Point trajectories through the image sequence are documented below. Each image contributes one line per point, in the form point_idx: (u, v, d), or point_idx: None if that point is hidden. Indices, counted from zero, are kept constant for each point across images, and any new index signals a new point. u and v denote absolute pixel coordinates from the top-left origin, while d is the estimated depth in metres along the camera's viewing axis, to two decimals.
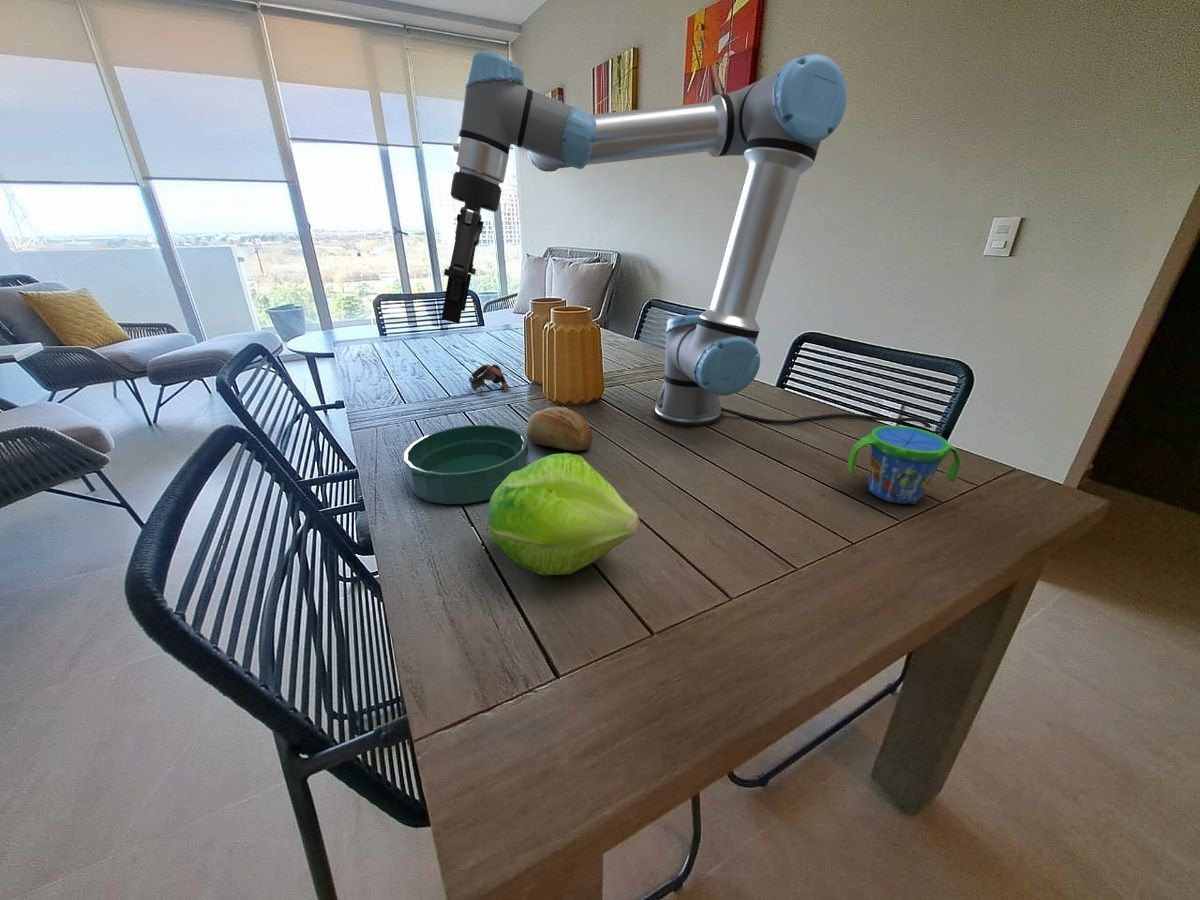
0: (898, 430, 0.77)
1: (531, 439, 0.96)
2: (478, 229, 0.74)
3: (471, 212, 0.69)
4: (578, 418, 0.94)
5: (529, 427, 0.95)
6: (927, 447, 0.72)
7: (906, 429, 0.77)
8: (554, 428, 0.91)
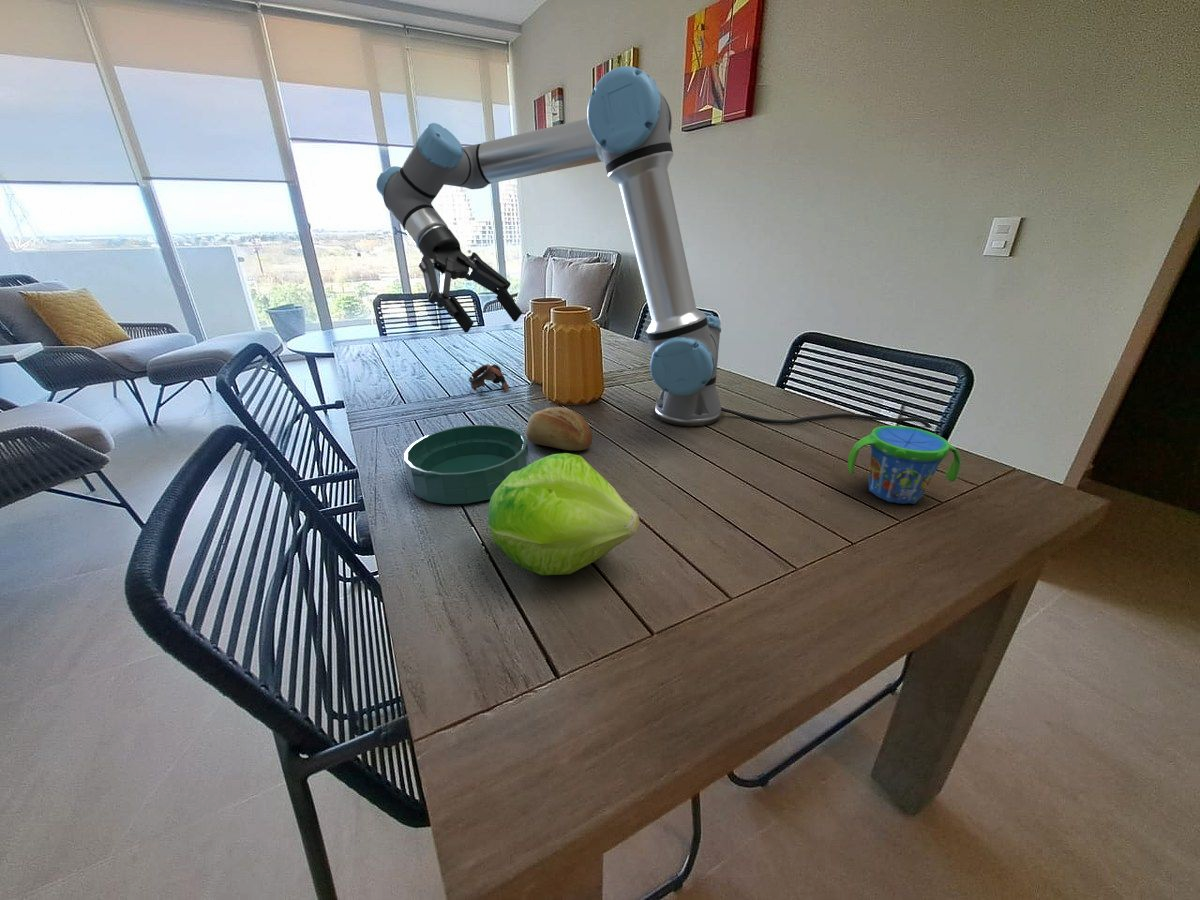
0: (898, 430, 0.77)
1: (531, 439, 0.96)
2: (446, 262, 0.93)
3: (421, 260, 0.91)
4: (578, 418, 0.94)
5: (529, 427, 0.95)
6: (927, 447, 0.72)
7: (906, 429, 0.77)
8: (554, 428, 0.91)
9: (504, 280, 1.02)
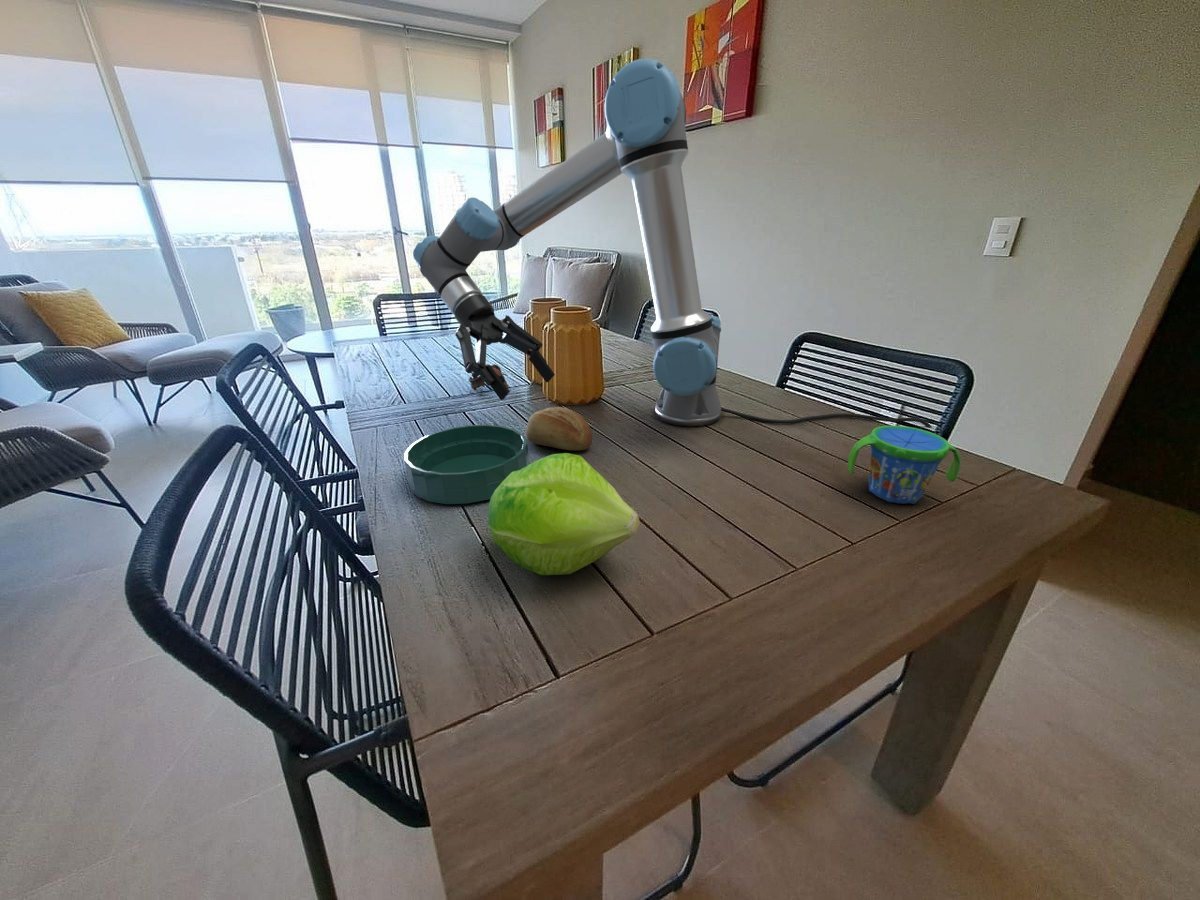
0: (898, 430, 0.77)
1: (531, 439, 0.96)
2: (482, 329, 0.95)
3: (458, 329, 0.93)
4: (578, 418, 0.94)
5: (529, 427, 0.95)
6: (927, 447, 0.72)
7: (906, 429, 0.77)
8: (554, 428, 0.91)
9: (536, 341, 1.03)
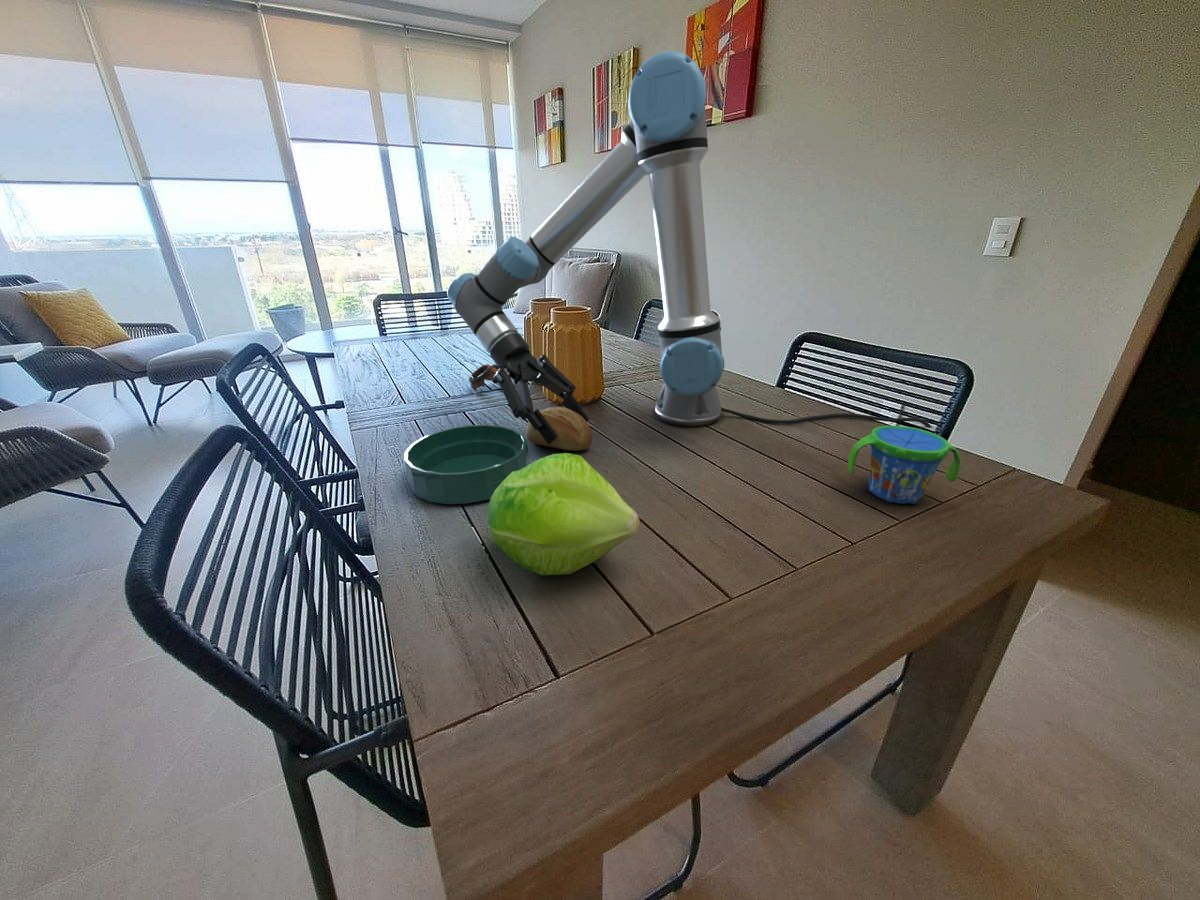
0: (898, 430, 0.77)
1: (531, 439, 0.96)
2: (520, 370, 0.93)
3: (497, 373, 0.91)
4: (578, 418, 0.94)
5: (529, 427, 0.95)
6: (927, 447, 0.72)
7: (906, 429, 0.77)
8: (554, 428, 0.91)
9: (570, 384, 1.00)
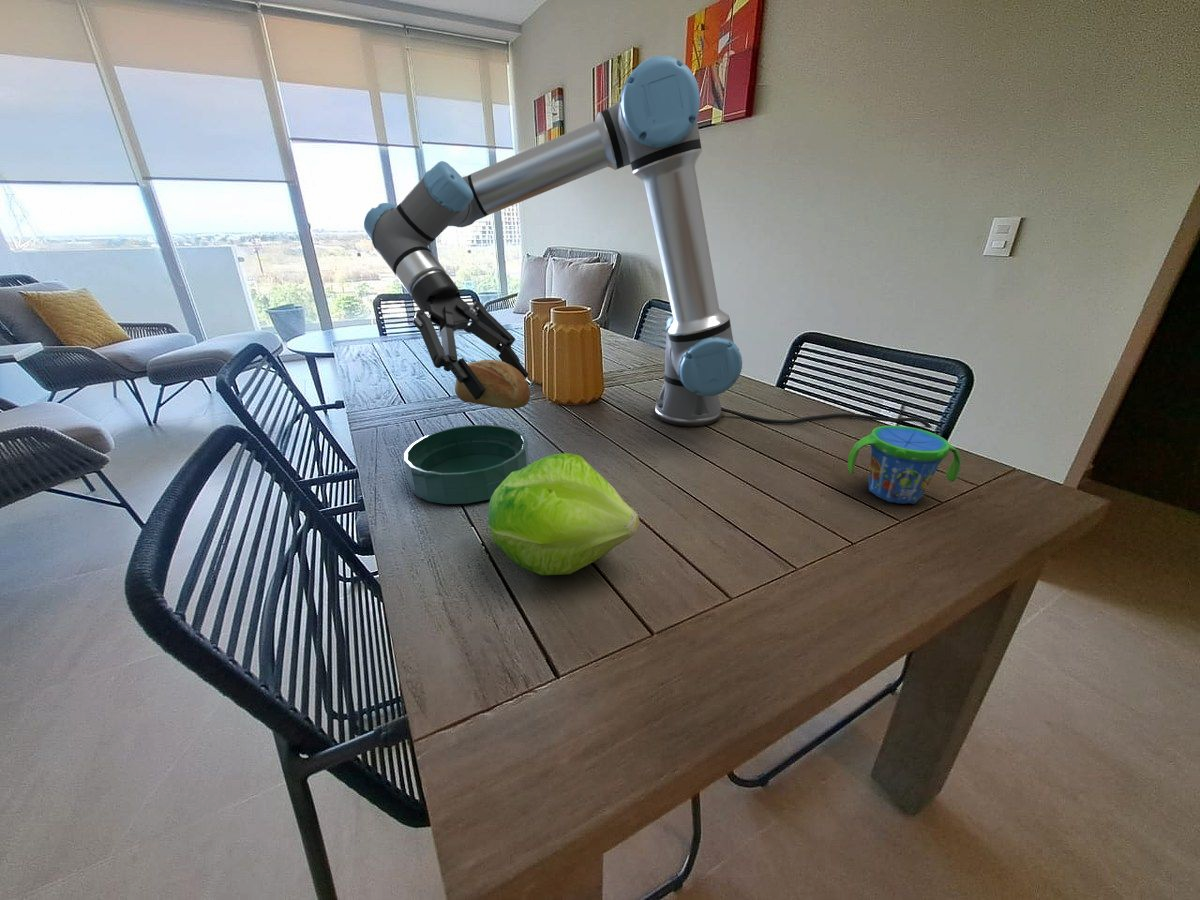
0: (898, 430, 0.77)
1: (460, 396, 0.83)
2: (445, 314, 0.80)
3: (416, 316, 0.78)
4: (512, 371, 0.81)
5: (457, 382, 0.82)
6: (927, 447, 0.72)
7: (906, 429, 0.77)
8: (482, 380, 0.78)
9: (508, 335, 0.87)
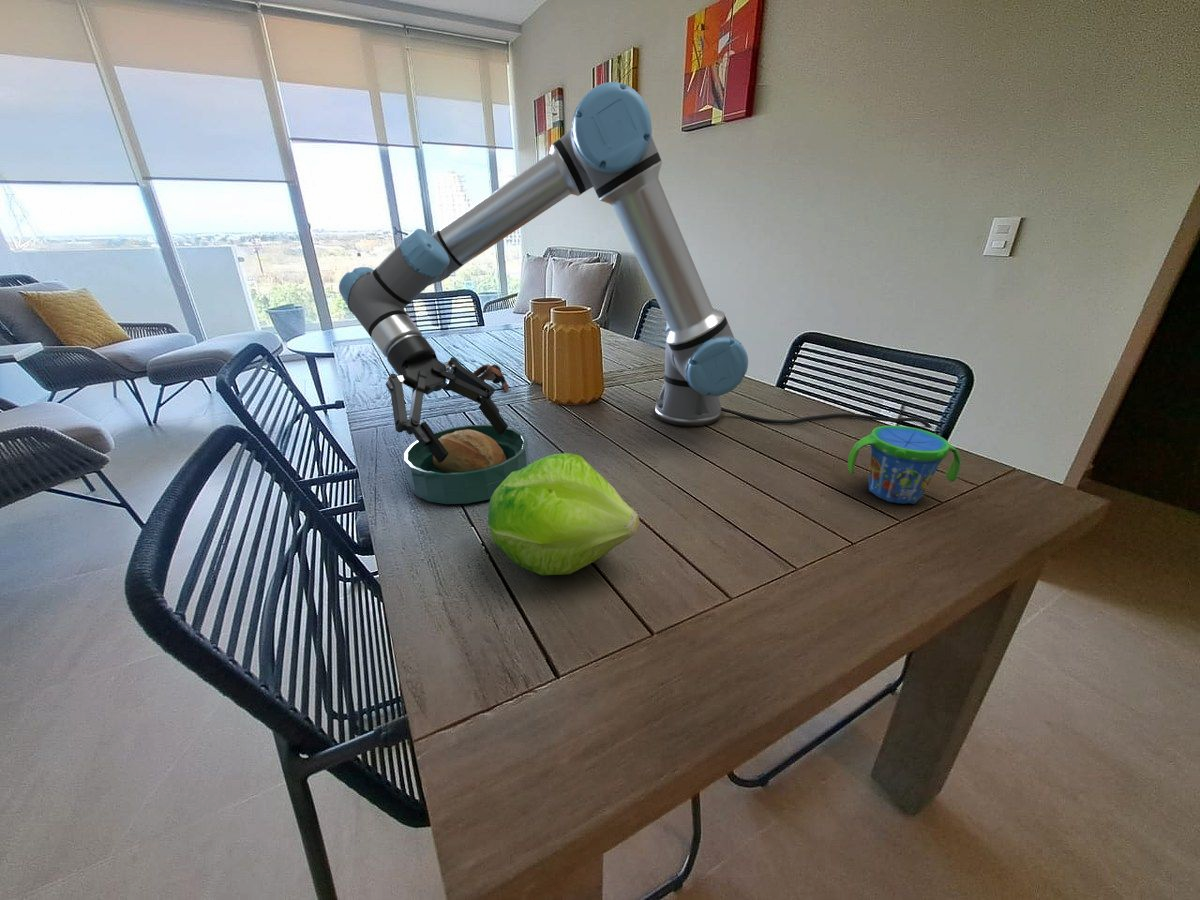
0: (898, 430, 0.77)
1: (437, 467, 0.84)
2: (418, 378, 0.80)
3: (388, 379, 0.78)
4: (488, 443, 0.82)
5: None
6: (927, 447, 0.72)
7: (906, 429, 0.77)
8: (458, 455, 0.80)
9: (487, 387, 0.89)
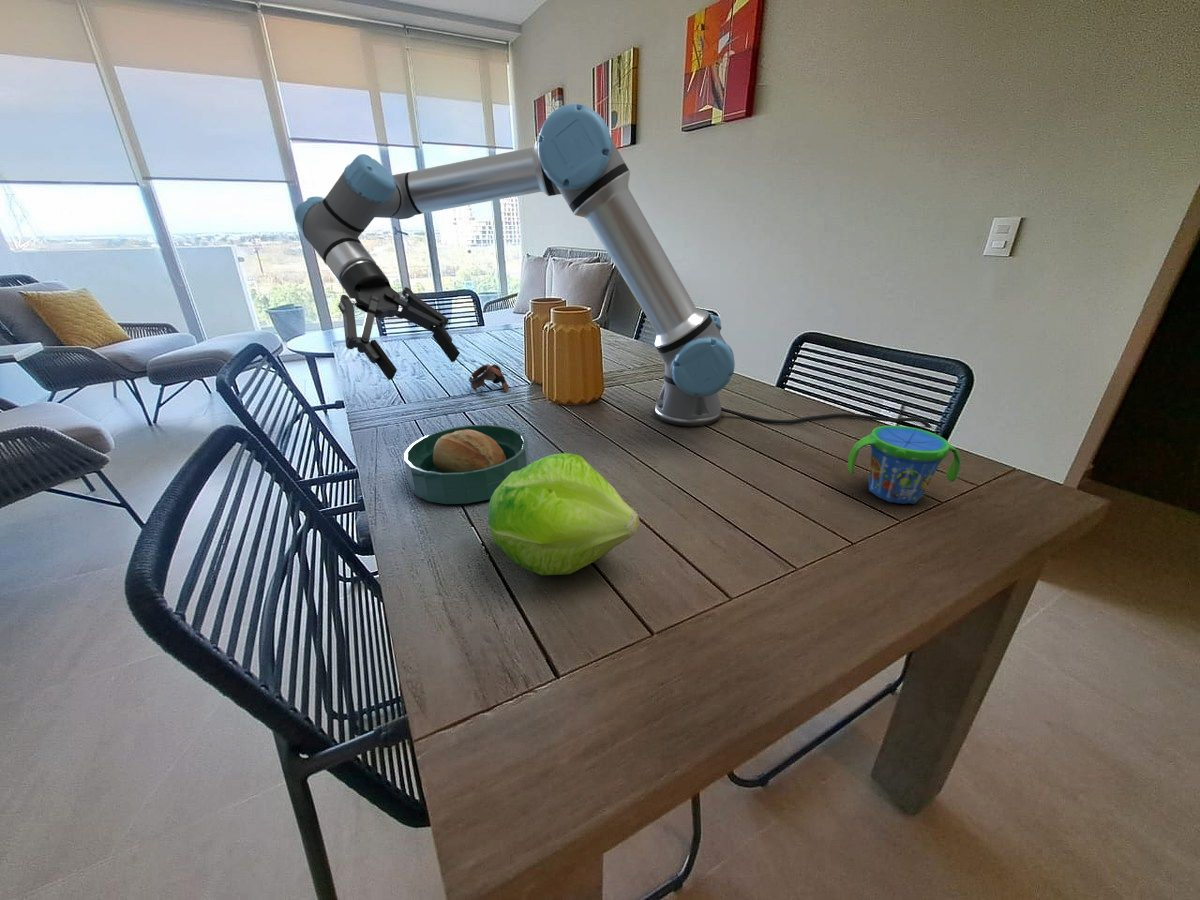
0: (898, 430, 0.77)
1: (437, 467, 0.84)
2: (370, 301, 0.84)
3: (340, 300, 0.82)
4: (488, 443, 0.82)
5: (434, 453, 0.83)
6: (927, 447, 0.72)
7: (906, 429, 0.77)
8: (458, 455, 0.80)
9: (441, 316, 0.92)
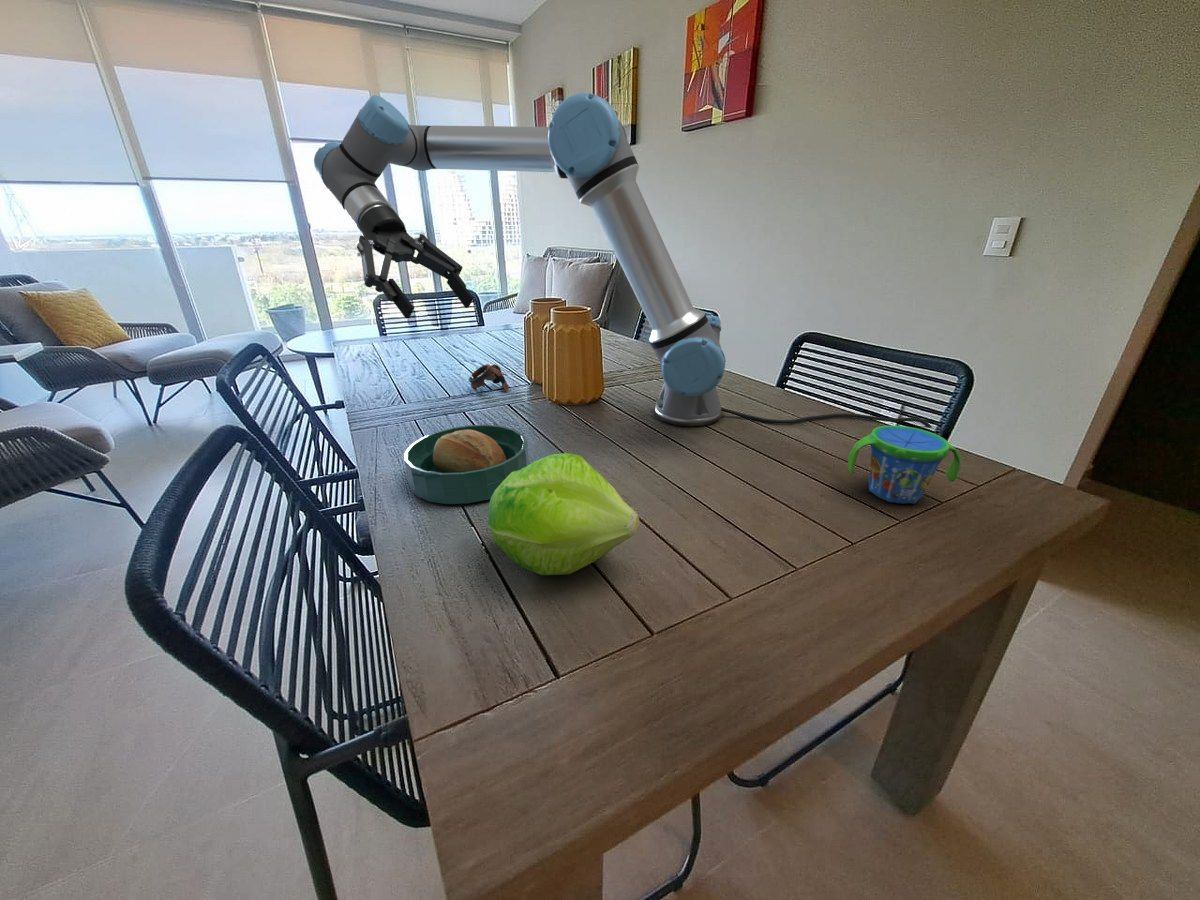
0: (898, 430, 0.77)
1: (437, 467, 0.84)
2: (387, 243, 0.86)
3: (358, 241, 0.84)
4: (488, 443, 0.82)
5: (434, 453, 0.83)
6: (927, 447, 0.72)
7: (906, 429, 0.77)
8: (458, 455, 0.80)
9: (455, 264, 0.95)
